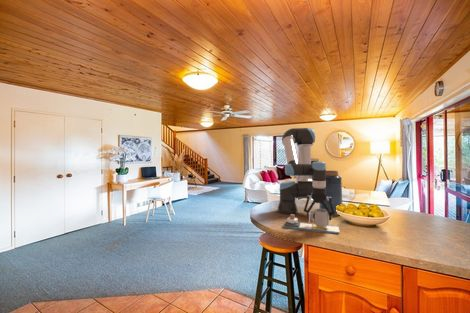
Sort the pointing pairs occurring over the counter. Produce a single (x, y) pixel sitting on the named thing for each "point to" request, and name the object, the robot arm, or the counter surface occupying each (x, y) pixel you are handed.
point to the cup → (320, 217)
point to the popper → (292, 219)
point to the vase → (333, 191)
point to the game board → (312, 227)
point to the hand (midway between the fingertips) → (318, 224)
